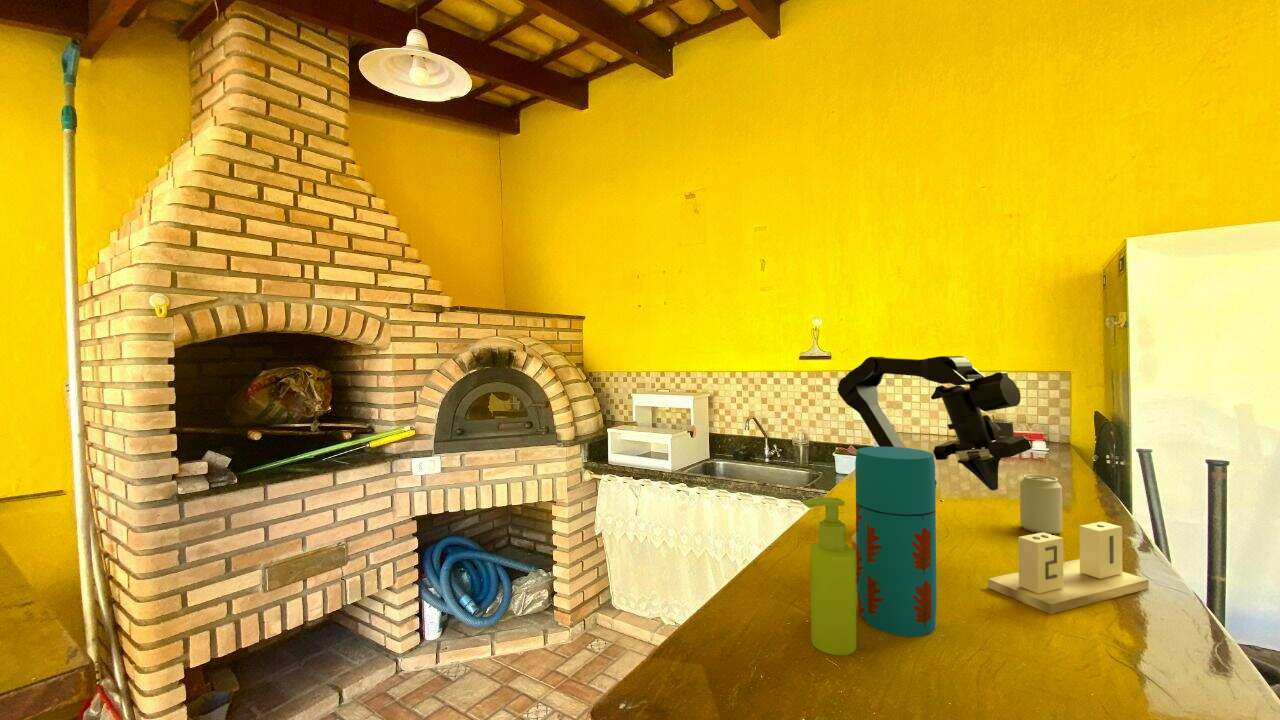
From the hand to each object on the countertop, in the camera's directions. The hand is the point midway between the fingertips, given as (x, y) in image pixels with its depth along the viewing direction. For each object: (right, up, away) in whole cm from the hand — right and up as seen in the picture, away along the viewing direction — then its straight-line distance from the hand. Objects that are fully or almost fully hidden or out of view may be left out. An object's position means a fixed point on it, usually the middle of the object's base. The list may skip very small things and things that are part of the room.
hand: (994, 489), depth 107 cm
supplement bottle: (-30, -13, -12) cm, 35 cm away
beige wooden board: (+1, -12, -17) cm, 21 cm away
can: (+18, -12, +12) cm, 25 cm away
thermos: (-33, -13, -27) cm, 44 cm away
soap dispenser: (-45, -13, -34) cm, 58 cm away
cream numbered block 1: (+8, -10, -15) cm, 20 cm away
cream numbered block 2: (-6, -11, -21) cm, 24 cm away
